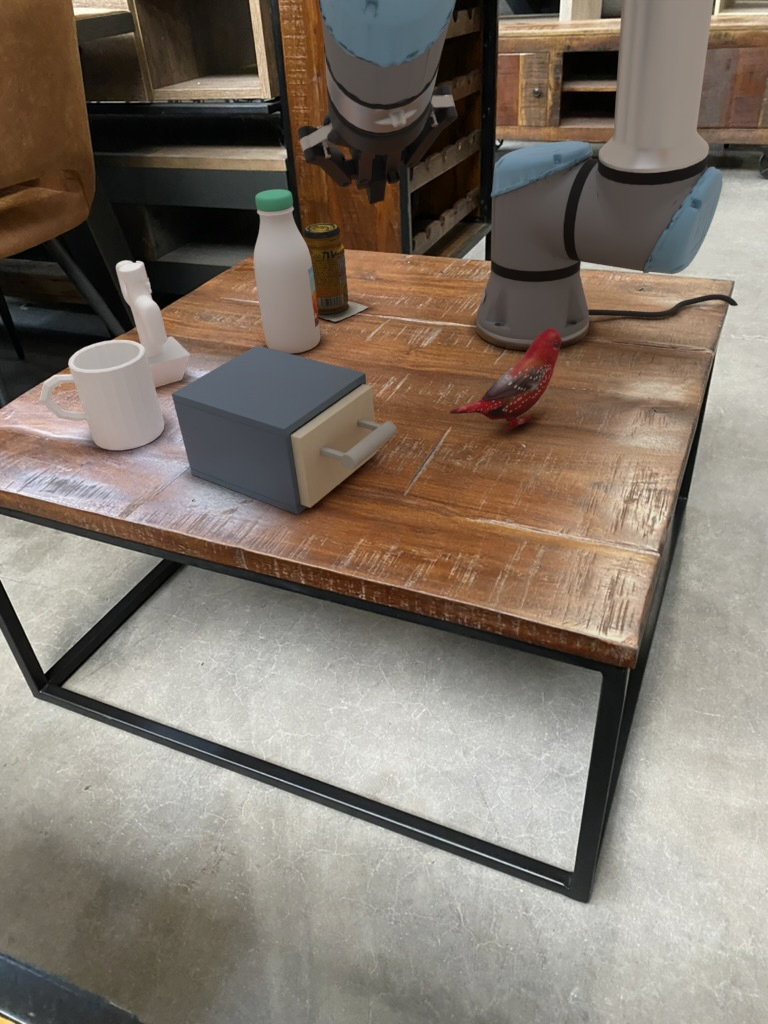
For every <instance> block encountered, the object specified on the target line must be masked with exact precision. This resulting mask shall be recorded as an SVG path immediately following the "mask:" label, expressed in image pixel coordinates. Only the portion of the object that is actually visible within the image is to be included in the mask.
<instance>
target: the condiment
mask: <svg viewBox="0 0 768 1024" xmlns="http://www.w3.org/2000/svg"><path fill="white" fill-rule="evenodd" d="M302 234H303V239H304V241H305V243H306V245H307V247H308V250H309V253H310V257H311V261H312V268H313V275H314V283H315V291H316V300H317V308H318V317H319V318H320V319H323V320H327V321H332V322H338V321H341V320H345V319H346V318H349V317H351V316H353V315H357V314H358V313H360V312H362V311H363V312H364V311H365V310H366V309H368V308H369V306H367V305H364V304H362V303H357V302H355V301H350V300H349V290H348V289H349V288H348V278H347V277H348V276H347V267H346V255H345V246H344V245H343V244H342V237H341V228H340V226H338V225H337V224H335V223H329V222H322V223H313V224H310V225H308V226H306V227H304V229H303V232H302Z"/></svg>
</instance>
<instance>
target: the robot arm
mask: <svg viewBox="0 0 768 1024" xmlns="http://www.w3.org/2000/svg"><path fill="white" fill-rule="evenodd" d="M317 1H318V7H319V8H318V9H319V11H320V17H321V25H322V35H323V52H324V63H325V77H326V78H325V80H326V89H327V92H326V93H327V100H328V102H327V104H328V112H327V113H326V114H325V115H324V117H323V120H322V122H323V125H318V126H316V127H314V126H312V125H302V126H301V127H299V128H297V130H296V133H297V136H298V139H299V143H300V148H301V150H302V154H303V157H304V161H305V163H306V164H310V165H314V166H318V167H319V168H321V170H323V171H324V173H325V174H326V175H327V176H328V177H330V178H331V179H332V181H334V183H336V185H337V186H338V187H339V188H347V187H349V186H351V185H352V184H353V181H354V183H355V187H356V190H357V191H361V190H364V189H365V192H366V197H367V200H368V203H369V205H373V204H376V203H379V202H384V201H385V196H386V187H387V184H388V185H394V184H397V183H399V182H400V181H401V180H402V179H401V175H400V172H399V171H400V166H403V165H404V167H405V168H406V169H411V168H414V167H415V166H418V164H419V163H420V162H421V160H422V159H423V158H424V156H425V155H426V153H427V152H428V151H429V149H430V148H431V147H432V145H433V144H434V142H435V141H436V140H437V138H438V137H439V136H440V135H441V134H442V132H443V131H444V129H446V128H447V127H448V126H449V125H451V124H452V123H453V122H455V121H456V120H457V119H459V116H458V112H457V109H456V105H455V102H454V97H453V93H452V90H451V89H452V88H451V86H450V85H449V84H442V85H440V86H438V87H437V88H436V89H435V85H436V82H437V81H436V80H437V76H438V71H439V67H440V63H441V57H442V53H443V48H444V45H445V42H446V41H445V40H446V37H447V33H448V29H449V26H450V22H451V19H452V15H453V12H454V10H455V6H456V2H457V0H317ZM713 7H714V0H621V9H620V11H621V12H620V27H619V41H618V42H619V44H618V60H617V73H616V75H617V76H616V91H615V92H616V93H615V104H614V105H615V107H614V123H613V134H612V136H611V138H609V140H608V141H606V142H605V144H604V145H603V146H602V147H600V149H599V151H598V155H597V157H598V158H592V156H593V154H594V151H593V149H592V148H593V147H592V145H591V144H590V143H589V142H588V141H585V142H583V141H582V140H566V141H554V142H548V143H540V144H536V145H531V146H527V147H522V148H519V149H516V150H512V151H510V152H507V153H506V154H504V155H503V156H501V157H500V158H499V159H498V160H497V162H496V163H495V165H494V168H493V179H492V188H491V192H490V197H491V233H490V234H491V236H490V237H491V240H490V241H491V242H490V243H491V244H490V247H491V248H490V249H491V250H490V273H489V277H488V280H487V283H486V285H485V288H483V289H482V292H481V295H480V298H481V300H480V303H479V306H478V309H477V312H476V320H475V322H476V324H475V328H476V332H477V334H478V336H479V337H481V338H482V339H483V340H485V341H486V342H488V343H490V344H492V345H495V346H497V347H500V348H501V347H502V348H506V349H509V350H510V349H511V350H516V351H527V350H528V349H529V347H530V346H531V344H532V343H533V341H534V340H535V339H536V338H537V337H538V336H539V335H540V334H541V333H542V332H543V331H545V330H546V329H549V328H554V329H555V330H557V331H558V333H559V335H560V338H561V339H562V341H563V342H562V343H561V344H560V349H561V348H566V347H568V346H571V345H573V344H576V343H578V342H580V341H581V340H583V339H584V338H585V337H586V336H587V334H588V332H589V326H590V316H603V317H604V316H607V317H632V318H633V317H634V318H646V319H647V318H648V319H649V318H650V319H653V318H654V319H657V318H666V317H669V316H672V315H674V314H676V313H677V312H679V310H680V309H682V308H685V307H687V306H691V305H696V304H700V303H704V302H710V301H723V302H725V303H728V305H730V306H731V307H737V306H739V304H738V302H737V301H736V300H735V299H734V298H733V297H731V296H728V295H726V294H720V293H714V294H713V293H712V294H706V295H700V296H697V297H693V298H689V299H684V300H682V301H679V302H678V303H676V304H675V305H674V306H673V307H671V308H669V309H667V310H660V311H639V310H626V309H625V310H623V309H622V310H621V309H620V310H619V309H589V307H588V303H587V299H586V293H585V290H584V285H583V282H582V278H581V264H582V263H587V264H594V265H600V266H606V267H612V268H619V269H625V270H630V271H631V270H632V271H637V272H638V271H639V272H642V273H643V274H649V273H656V274H665V275H666V274H667V275H675V274H678V273H679V274H680V273H681V272H683V271H684V270H686V269H687V268H688V267H689V266H690V265H691V263H692V262H693V260H694V259H695V258H696V256H697V255H698V253H699V251H700V249H701V247H702V245H703V243H704V241H705V239H706V237H707V234H708V232H709V230H710V228H711V225H712V222H713V219H714V217H715V214H716V211H717V209H718V208H717V207H718V205H719V200H720V198H721V194H722V188H723V172H722V171H721V170H720V169H717V168H716V167H715V166H709V167H708V161H709V160H708V159H709V152H710V146H709V144H708V142H707V141H706V140H705V139H704V138H703V137H702V136H701V135H700V134H699V133H698V130H697V128H698V121H699V115H700V106H701V100H702V99H701V98H702V91H703V83H704V75H705V70H706V69H705V68H706V60H707V52H708V46H709V37H710V29H711V22H712V15H713ZM434 89H435V90H434ZM338 146H340V147H344V148H346V149H347V148H348V150H349V151H348V152H349V154H350V157H351V158H349V159H347V158H346V156H345V154H344V153H343V152H342V150H341V149H340V148H339V147H338Z"/></svg>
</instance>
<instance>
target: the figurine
mask: <svg viewBox="0 0 768 1024" xmlns="http://www.w3.org/2000/svg"><path fill="white" fill-rule="evenodd" d="M115 271H116V275H117V279H118V283H119V286H120V290H121V294H122V296H123V299H124V301H125V302H126V303H127V305H128V306H129V307H130V310H131V313H132V316H133V320H134V324H135V328H136V331H137V335H138V339H139V342H140V343H139V344H141V345H142V346H143V347H144V348H145V351H146V355H147V359H148V363H149V366H150V370H151V374H152V378H153V382H154V386H155V389H156V388H159V387H163V386H165V385H169V384H173V383H177V382H180V381H182V380H183V378H184V375H185V372H186V369H187V366H188V363H189V360H190V357H191V354H190V352H189V351H188V350H187V349H186V348H185V347H184V346H183V345H181V344H180V342H179V341H177V339H175V337H174V336H168V335H167V330H166V328H165V327H166V326H165V323H164V319H163V315H162V312H161V308H160V306H159V305H158V304H157V302H156V301H154V300H153V297H152V294H153V291H152V288H151V282H150V279H149V277H148V274H147V270H146V267H145V263H144V262H143V261H141V260H136V261H135V262H133V261H132V260H127V259H125V260H121V261H119V262H117V263H116V265H115Z"/></svg>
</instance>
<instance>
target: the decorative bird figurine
mask: <svg viewBox="0 0 768 1024" xmlns="http://www.w3.org/2000/svg"><path fill="white" fill-rule="evenodd" d="M562 342H563V341H562V339H561V338H560V335H559V333H558V331H557V330H555V329H554V328H549V329H546V330H545V331H543V332H542V333H541V334H540V335H539V336H538V337H537V338H536V339H535V340H534V341H533V343H532V344H531V346H530V347H529V349H528V350H526V352H525V353H524V355H523V356H522V357H521V358H520V359H519V360H518V361H517V362H516V363H515V364H514V365H513V366H512V367H510V368H509V369H508V370H506V371H505V372H504V373H503V374H502V375H501V376H500V377H499V378H498V379H497V380H496V381H495V382H494V383H493V384H492V385H491V386H490V387H489V388H488V389H487V391H486V392H485V393H484V394H483V396H482V397H481V398H480V399H479V400H477V401H474V402H470V403H468V404H465V405H462V406H459V407H455V408H454V409H451V410H450V411H449V414H451V415H460V414H473V413H475V414H480V415H483V416H484V417H486V418H487V419H489V420H493V421H497V420H506V421H507V422H510V423H509V424H508V425H507V426H506V427H505V429H504V431H503V432H504V433H505V432H506V431H507V430H508V431H510V430H512V429H514V428H516V427H518V426H520V425H524V424H525V423H526V422H527V421H529V420H528V419H530V418H531V417H532V416H534V415H535V414H536V413H535V412H533V413H531V414H529V415H528V416H523V415H524V414H525V413H527V412H528V411H529V410H530V409H532V408H533V407H534V406H535V405H536V404H537V403H538V401H539V400H540V399H541V398H542V396H543V395H544V393H545V392H546V389H547V388H548V386H549V384H550V382H551V379H552V377H553V374H554V370H555V367H556V364H557V363H556V362H557V361H558V358H559V355H560V349H561V348H560V344H561V343H562ZM520 416H521V417H520ZM519 417H520V418H519Z"/></svg>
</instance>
